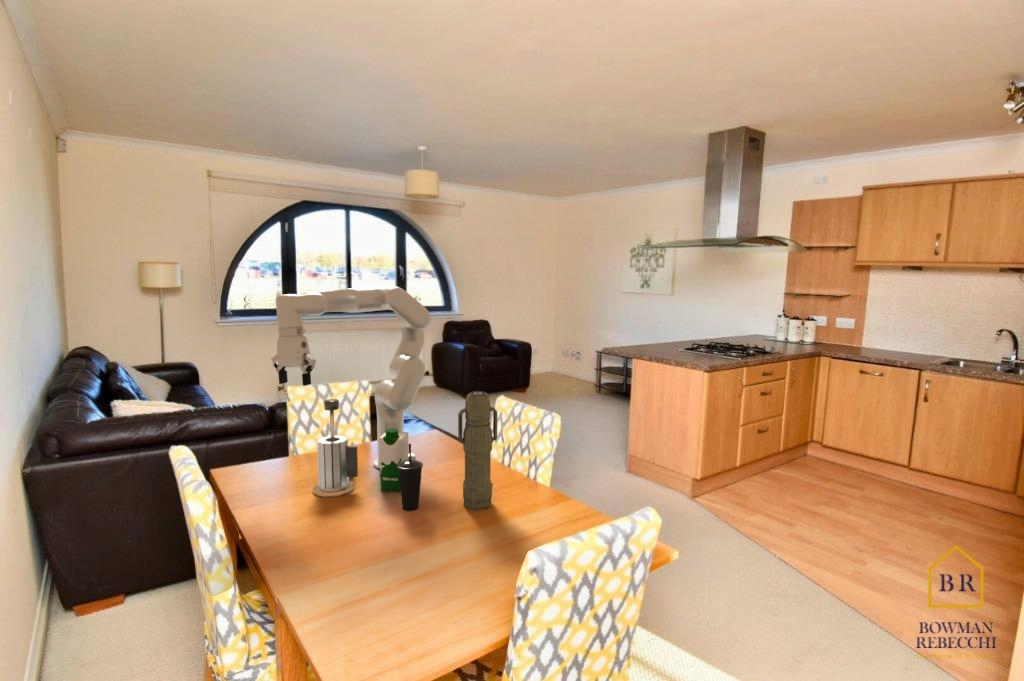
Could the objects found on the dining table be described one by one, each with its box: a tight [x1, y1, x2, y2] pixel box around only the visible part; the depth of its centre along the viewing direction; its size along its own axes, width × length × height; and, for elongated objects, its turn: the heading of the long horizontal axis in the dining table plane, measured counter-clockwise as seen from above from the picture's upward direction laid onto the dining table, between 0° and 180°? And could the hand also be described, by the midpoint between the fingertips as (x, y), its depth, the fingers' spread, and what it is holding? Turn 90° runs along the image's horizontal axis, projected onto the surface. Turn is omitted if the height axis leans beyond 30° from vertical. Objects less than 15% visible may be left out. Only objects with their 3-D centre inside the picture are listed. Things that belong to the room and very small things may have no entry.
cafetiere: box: [312, 434, 359, 498], centre depth 173 cm, size 14×13×17 cm
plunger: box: [323, 398, 340, 442], centre depth 172 cm, size 4×4×19 cm
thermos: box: [457, 390, 498, 511], centre depth 162 cm, size 9×12×35 cm
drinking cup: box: [397, 443, 424, 512], centre depth 159 cm, size 8×8×20 cm
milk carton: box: [379, 429, 410, 493], centre depth 175 cm, size 9×9×20 cm
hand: (295, 383), depth 175 cm, fingers open, 9 cm apart
